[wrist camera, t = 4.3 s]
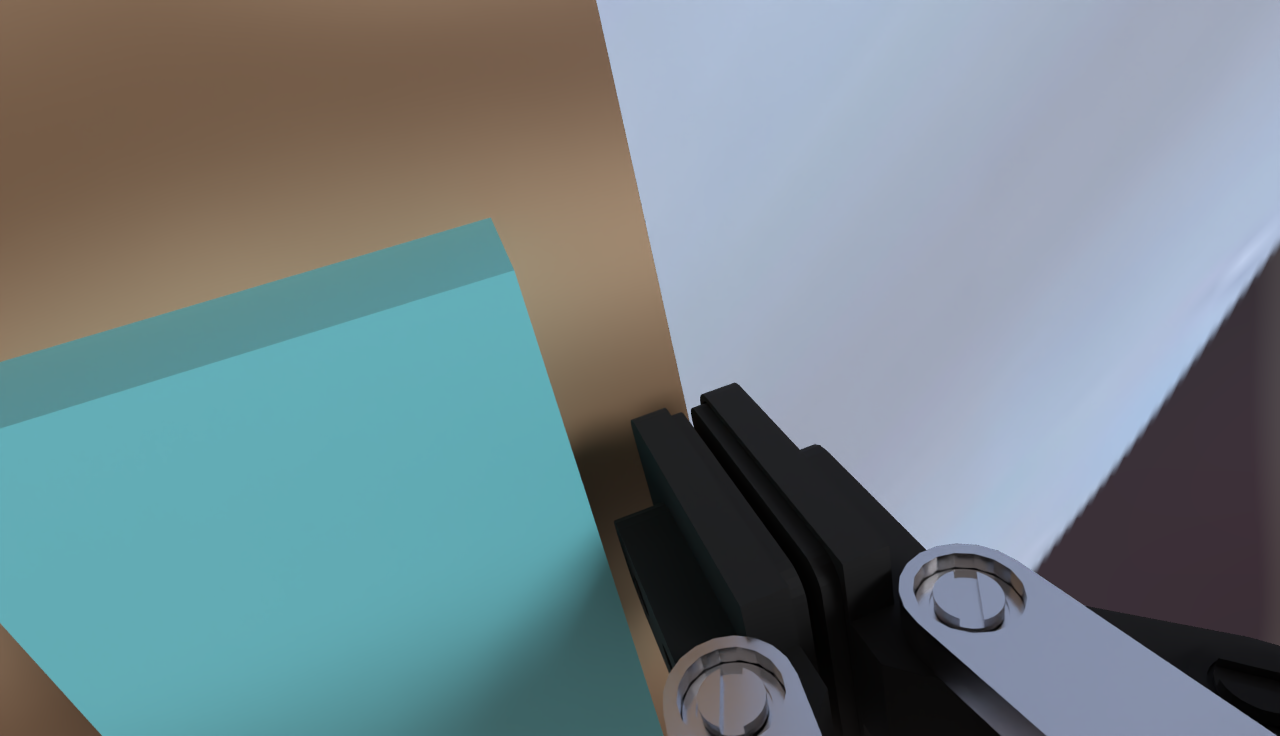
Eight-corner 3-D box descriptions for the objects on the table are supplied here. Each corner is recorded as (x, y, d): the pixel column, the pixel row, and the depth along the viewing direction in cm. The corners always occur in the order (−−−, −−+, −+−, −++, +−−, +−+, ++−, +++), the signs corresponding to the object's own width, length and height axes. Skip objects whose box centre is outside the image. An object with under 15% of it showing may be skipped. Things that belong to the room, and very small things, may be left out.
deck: (-478, -53, 9) (-1057, -110, 5) (478, -240, 11) (513, -371, 7) (268, 847, 18) (235, 1041, 15) (709, 666, 20) (772, 799, 16)
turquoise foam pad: (-4, 362, 8) (-139, 470, 6) (490, 217, 9) (513, 270, 7) (319, 804, 13) (301, 956, 11) (639, 673, 14) (681, 789, 12)
